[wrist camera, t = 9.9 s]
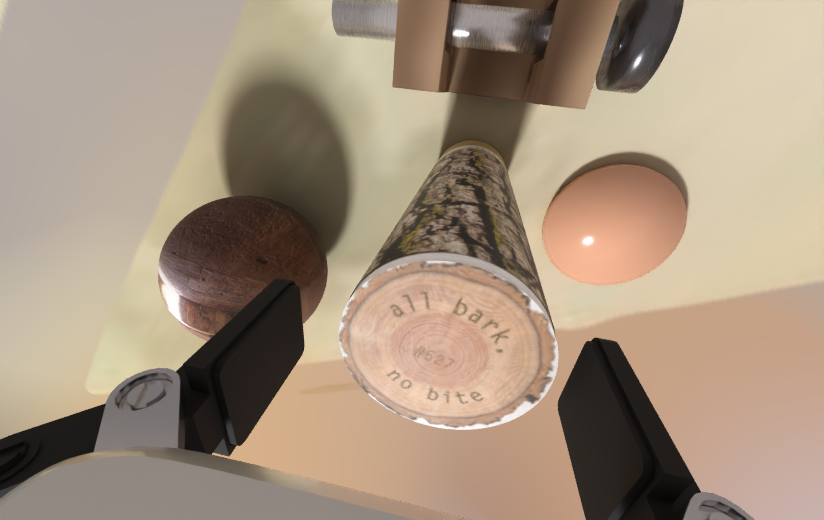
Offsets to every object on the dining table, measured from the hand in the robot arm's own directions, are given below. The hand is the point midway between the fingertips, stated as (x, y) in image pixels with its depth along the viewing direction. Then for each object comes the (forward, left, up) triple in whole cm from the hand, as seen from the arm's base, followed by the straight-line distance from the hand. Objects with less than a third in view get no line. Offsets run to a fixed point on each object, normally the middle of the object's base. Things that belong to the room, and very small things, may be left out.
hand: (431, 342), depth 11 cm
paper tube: (0, 0, -25) cm, 25 cm away
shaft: (0, -11, -21) cm, 24 cm away
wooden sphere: (+20, +11, -25) cm, 33 cm away
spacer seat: (-14, +3, -24) cm, 28 cm away
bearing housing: (0, -11, -24) cm, 27 cm away
